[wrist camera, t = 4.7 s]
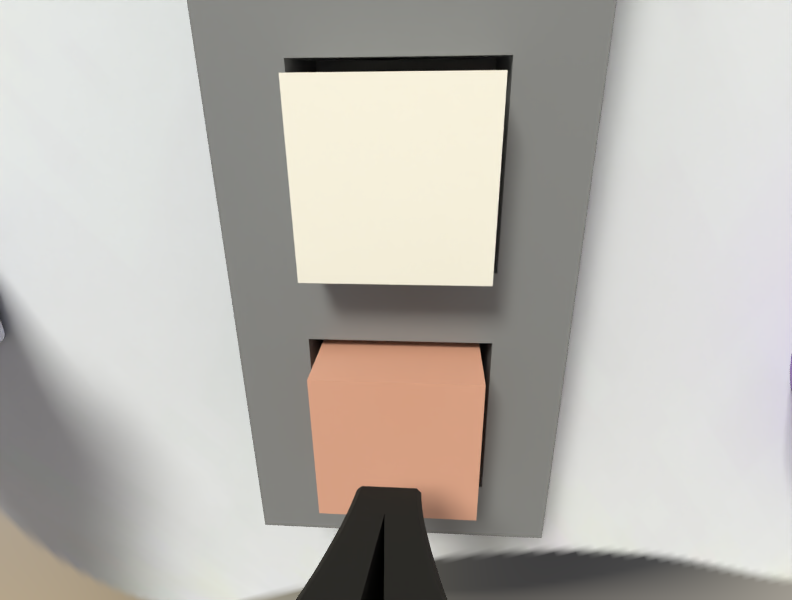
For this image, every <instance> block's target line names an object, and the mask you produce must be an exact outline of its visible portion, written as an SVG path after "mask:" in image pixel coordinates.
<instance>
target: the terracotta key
mask: <svg viewBox="0 0 792 600" xmlns="http://www.w3.org/2000/svg"><path fill="white" fill-rule="evenodd" d="M307 386H308V396H309V407H310V418H311V429H312V440H313V450H314V461H315V472H316V483H317V494H318V504H319V513H326V514H347V512H348V510H349V508H350V505H351V503H352V501H353V499H354V496H355V493H356V491H357V489H358V488H360V487H361V486H375V487H398V488H417V489H418V490H419V491H420V492H421V501H422V510H423V517H424V518H433V519H454V520H476V518H477V503H478V489H479V475H480V460H481V446H482V431H483V417H484V403H485V388H486V384H485V378H484V372H483V365H482V359H481V353H480V347H479V343H456V342H414V341H373V340H331V339H324V341H323V343H322V345H321V348H320V350H319V353H318V355H317V357H316V360H315V362H314V365H313V367H312V369H311V372H310V374H309V377H308V379H307Z"/></svg>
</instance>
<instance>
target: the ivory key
mask: <svg viewBox="0 0 792 600" xmlns="http://www.w3.org/2000/svg"><path fill="white" fill-rule="evenodd" d="M507 72H508V70H472V71H384V72H295V73H279V83H280V94H281V105H282V116H283V126H284V137H285V148H286V159H287V170H288V180H289V191H290V202H291V213H292V224H293V234H294V245H295V256H296V267H297V278H298V283H329V284H389V285H450V286H493V273H494V259H495V245H496V230H497V216H498V201H499V187H500V173H501V158H502V144H503V130H504V115H505V101H506V86H507Z"/></svg>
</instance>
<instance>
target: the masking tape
mask: <svg viewBox="0 0 792 600" xmlns="http://www.w3.org/2000/svg"><path fill="white" fill-rule="evenodd" d="M790 380H791V390H792V356H791V366H790Z"/></svg>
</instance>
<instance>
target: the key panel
mask: <svg viewBox="0 0 792 600" xmlns="http://www.w3.org/2000/svg"><path fill="white" fill-rule="evenodd" d="M616 1H617V0H187V4H188V11H189V17H190V24H191V31H192V37H193V44H194V51H195V58H196V64H197V71H198V78H199V84H200V91H201V98H202V104H203V111H204V118H205V124H206V131H207V138H208V144H209V151H210V158H211V164H212V171H213V178H214V184H215V191H216V198H217V204H218V211H219V218H220V224H221V231H222V238H223V244H224V251H225V258H226V264H227V271H228V278H229V285H230V291H231V298H232V305H233V311H234V318H235V325H236V331H237V338H238V345H239V351H240V358H241V365H242V371H243V378H244V385H245V391H246V398H247V405H248V411H249V418H250V425H251V431H252V438H253V445H254V451H255V458H256V465H257V471H258V478H259V485H260V491H261V498H262V505H263V511H264V518H265V525H284V526H304V527H325V528H340V526H341V524H342V522H343V520H344V518H345V516H346V514H326V513H319V504H318V494H317V483H316V472H315V461H314V450H313V440H312V429H311V418H310V407H309V396H308V386H307V379H308V377H309V374H310V372H311V369H312V367H313V365H314V362H315V360H316V357H317V355H318V353H319V350H320V348H321V345H322V343H323V341H324V339H331V340H373V341H414V342H456V343H479V347H480V353H481V359H482V365H483V372H484V378H485V384H486V388H485V403H484V417H483V431H482V446H481V460H480V475H479V489H478V503H477V518H476V520H454V519H433V518H424V522H425V527H426V532H428V533H448V534H469V535H489V536H510V537H530V538H542V531H543V524H544V517H545V509H546V502H547V495H548V488H549V481H550V474H551V466H552V459H553V452H554V445H555V438H556V431H557V423H558V416H559V409H560V402H561V395H562V388H563V381H564V373H565V366H566V359H567V352H568V345H569V338H570V330H571V323H572V316H573V309H574V302H575V295H576V288H577V280H578V273H579V266H580V259H581V252H582V245H583V237H584V230H585V223H586V216H587V209H588V202H589V195H590V187H591V180H592V173H593V166H594V159H595V152H596V144H597V137H598V130H599V123H600V116H601V109H602V101H603V94H604V87H605V80H606V73H607V66H608V59H609V51H610V44H611V37H612V30H613V23H614V16H615V8H616ZM472 70H508V72H507V86H506V101H505V115H504V130H503V144H502V158H501V173H500V187H499V201H498V216H497V230H496V245H495V259H494V273H493V286H450V285H389V284H329V283H298V278H297V267H296V256H295V245H294V234H293V224H292V213H291V202H290V191H289V180H288V170H287V159H286V148H285V137H284V126H283V116H282V105H281V94H280V83H279V73H295V72H384V71H472Z"/></svg>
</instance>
